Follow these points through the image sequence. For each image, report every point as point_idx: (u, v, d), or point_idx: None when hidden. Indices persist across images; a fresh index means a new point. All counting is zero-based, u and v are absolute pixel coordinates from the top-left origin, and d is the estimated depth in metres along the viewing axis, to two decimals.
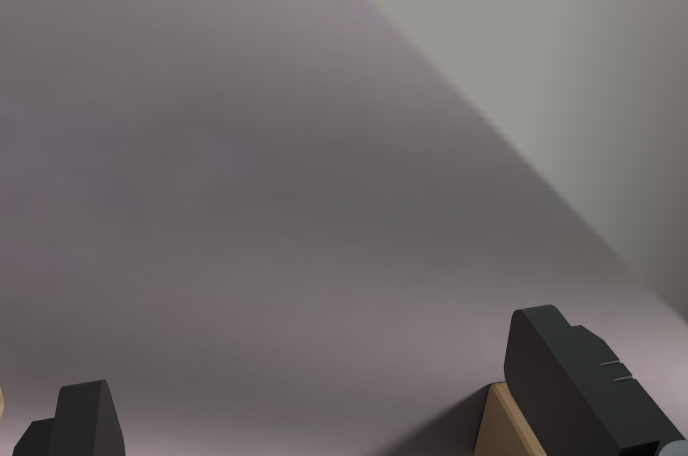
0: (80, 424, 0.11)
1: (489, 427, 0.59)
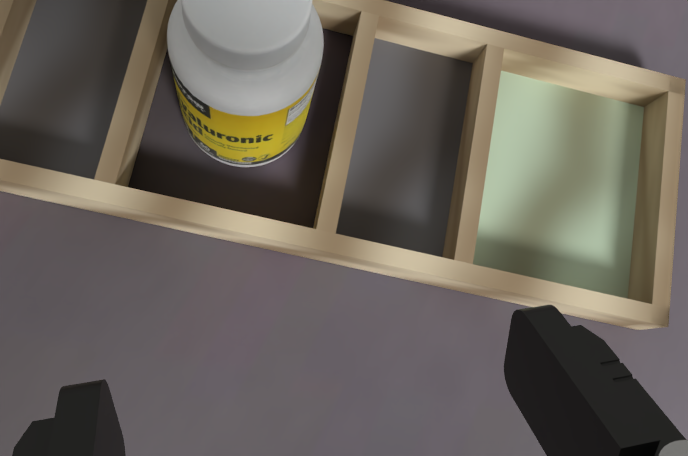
0: (80, 424, 0.11)
1: None
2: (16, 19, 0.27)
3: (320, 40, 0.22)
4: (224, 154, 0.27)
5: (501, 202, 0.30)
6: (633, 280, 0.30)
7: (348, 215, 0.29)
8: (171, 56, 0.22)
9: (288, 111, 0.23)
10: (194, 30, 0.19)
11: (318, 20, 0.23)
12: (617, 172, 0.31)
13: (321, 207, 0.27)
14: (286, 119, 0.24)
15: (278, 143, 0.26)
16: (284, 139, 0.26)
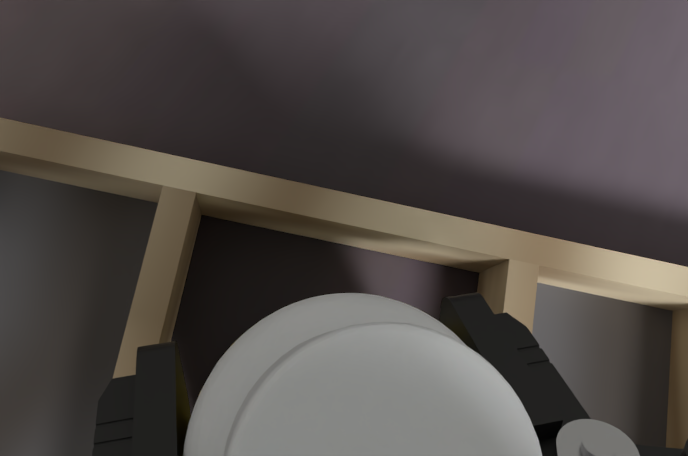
0: (159, 378, 0.11)
1: None
2: None
3: None
4: None
5: None
6: None
7: None
8: None
9: None
10: None
11: None
12: None
13: None
14: None
15: None
16: None
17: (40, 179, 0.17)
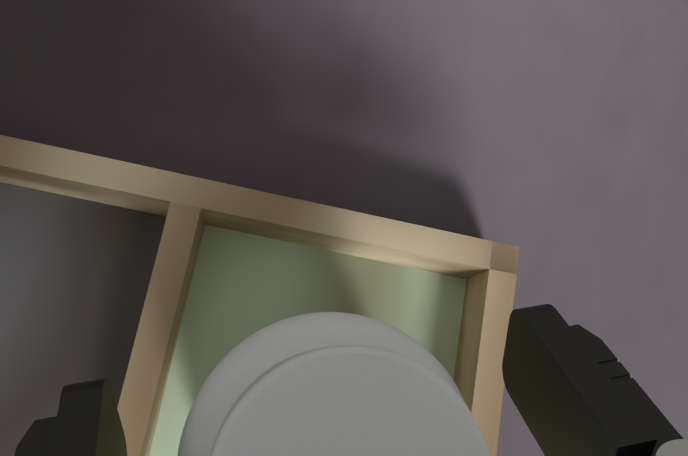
0: (81, 422, 0.11)
1: None
2: None
3: None
4: None
5: None
6: None
7: None
8: None
9: None
10: None
11: None
12: None
13: None
14: None
15: None
16: None
17: None
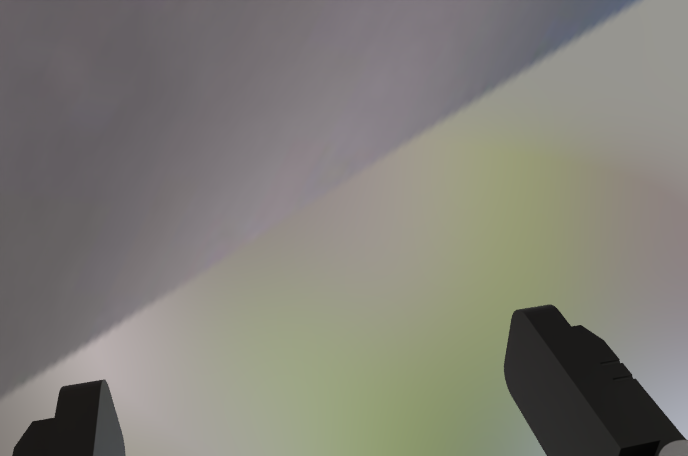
0: (79, 423, 0.11)
1: None
2: None
3: None
4: None
5: None
6: None
7: None
8: None
9: None
10: None
11: None
12: None
13: None
14: None
15: None
16: None
17: None
